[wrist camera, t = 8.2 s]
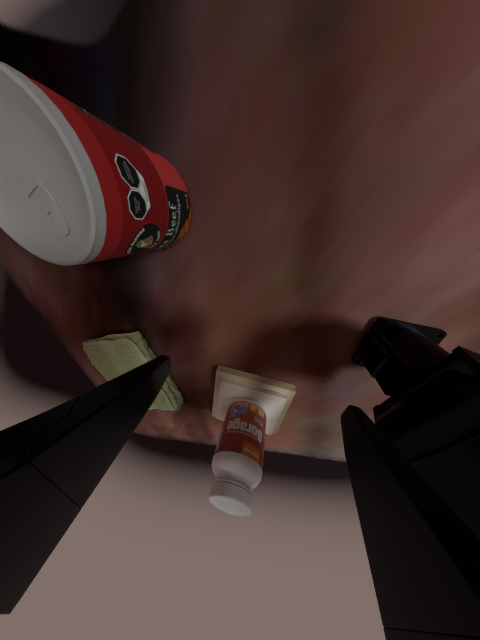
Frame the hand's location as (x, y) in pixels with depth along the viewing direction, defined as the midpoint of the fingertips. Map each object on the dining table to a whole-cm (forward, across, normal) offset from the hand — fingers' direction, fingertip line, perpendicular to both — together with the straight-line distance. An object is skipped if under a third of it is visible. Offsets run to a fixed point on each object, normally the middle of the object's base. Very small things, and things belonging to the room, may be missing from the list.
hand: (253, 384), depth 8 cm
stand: (+13, -1, +19) cm, 23 cm away
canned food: (+13, +13, -7) cm, 20 cm away
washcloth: (+14, +20, +20) cm, 31 cm away
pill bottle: (+11, -1, +19) cm, 22 cm away
